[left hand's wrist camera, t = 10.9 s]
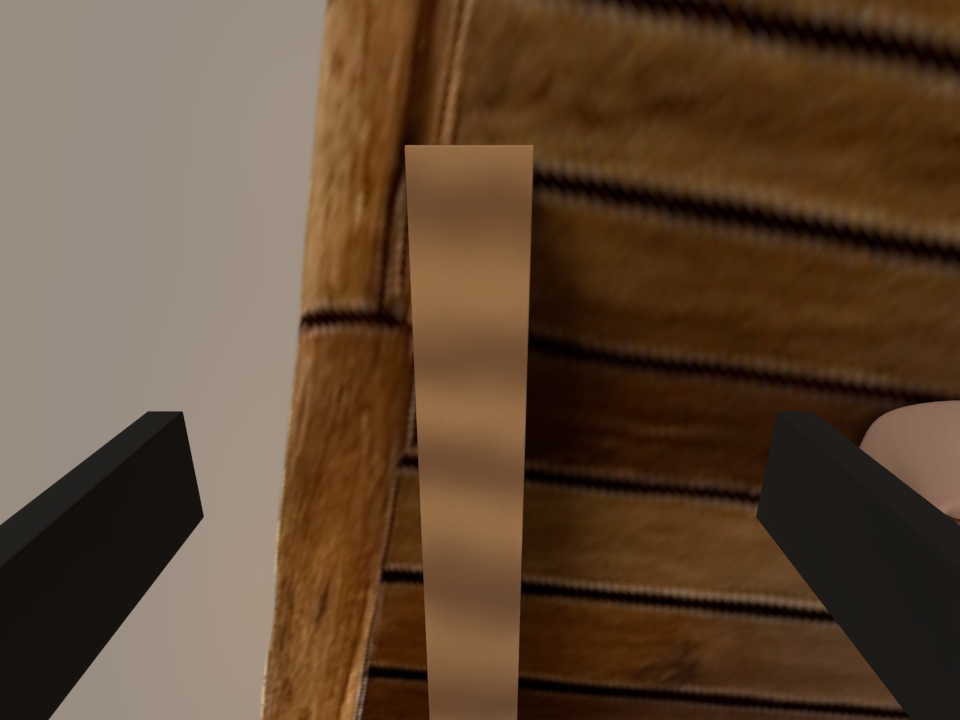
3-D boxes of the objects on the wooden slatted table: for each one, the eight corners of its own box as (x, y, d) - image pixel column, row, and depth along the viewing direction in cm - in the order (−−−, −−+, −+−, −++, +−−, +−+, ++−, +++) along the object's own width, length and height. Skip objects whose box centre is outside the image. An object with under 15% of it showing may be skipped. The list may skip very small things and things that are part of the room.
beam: (423, 148, 28) (404, 145, 20) (516, 148, 28) (533, 145, 20) (448, 912, 49) (444, 1058, 41) (501, 911, 49) (507, 1057, 41)
